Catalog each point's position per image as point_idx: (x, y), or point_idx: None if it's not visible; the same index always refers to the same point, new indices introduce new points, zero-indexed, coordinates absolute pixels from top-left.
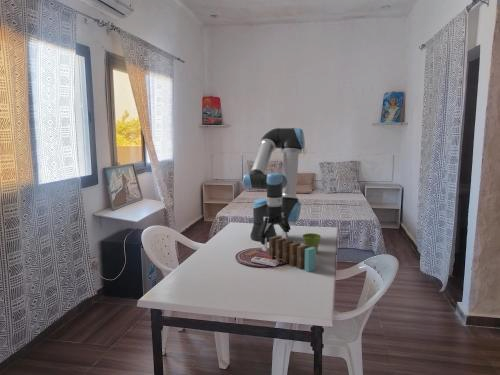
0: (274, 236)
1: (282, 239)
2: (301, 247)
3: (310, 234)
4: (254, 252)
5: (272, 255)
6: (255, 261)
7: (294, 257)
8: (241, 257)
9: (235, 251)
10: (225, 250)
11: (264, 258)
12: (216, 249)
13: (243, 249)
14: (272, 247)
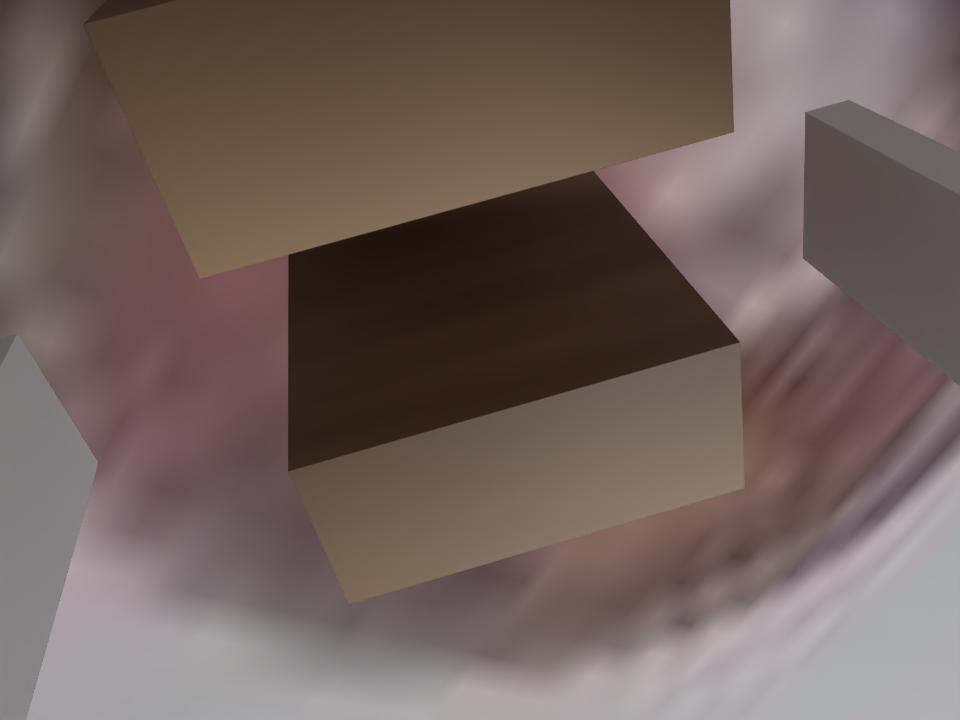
0: (466, 563)
1: (378, 24)
2: None
3: None
4: None
5: None
6: (910, 95)
7: None
8: (930, 380)
9: (810, 613)
10: (879, 668)
11: (657, 174)
12: (930, 714)
13: (668, 651)
14: (598, 194)
